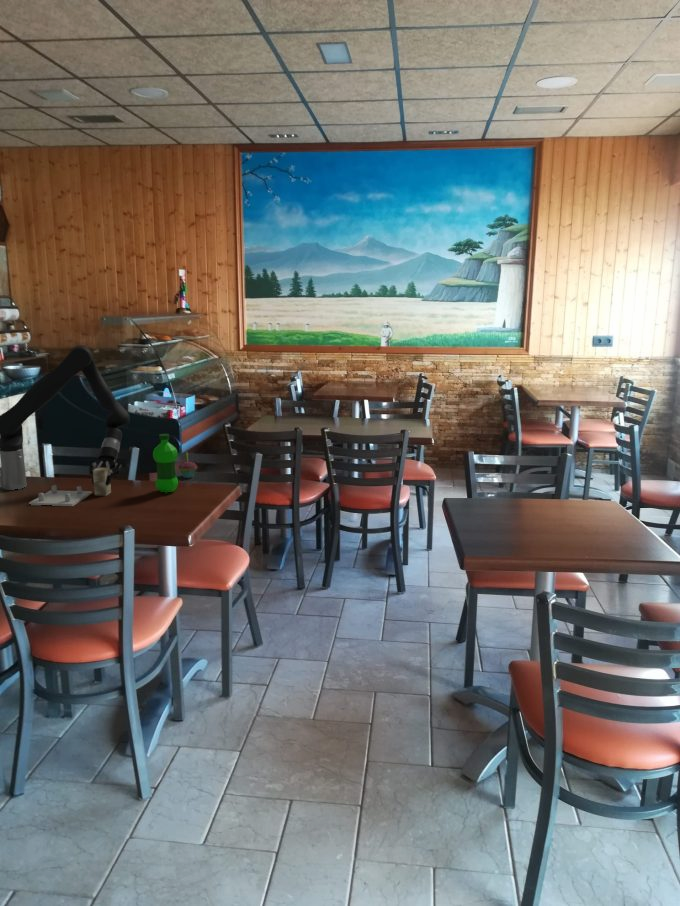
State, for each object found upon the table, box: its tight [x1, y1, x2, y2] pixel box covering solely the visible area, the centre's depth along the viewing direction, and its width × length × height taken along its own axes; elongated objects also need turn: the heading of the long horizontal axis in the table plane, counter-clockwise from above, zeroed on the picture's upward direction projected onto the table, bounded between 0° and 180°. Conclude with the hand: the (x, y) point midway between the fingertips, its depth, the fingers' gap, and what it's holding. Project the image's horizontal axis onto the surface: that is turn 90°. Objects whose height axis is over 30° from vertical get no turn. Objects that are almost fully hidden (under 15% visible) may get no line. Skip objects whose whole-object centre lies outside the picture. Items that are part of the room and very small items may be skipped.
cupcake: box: [178, 452, 198, 479], centre depth 317 cm, size 9×8×12 cm
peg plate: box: [28, 484, 93, 507], centre depth 282 cm, size 18×18×4 cm
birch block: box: [92, 467, 112, 497], centre depth 289 cm, size 5×5×11 cm
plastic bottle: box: [152, 433, 179, 493], centre depth 291 cm, size 10×10×25 cm
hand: (100, 484), depth 287 cm, fingers closed on birch block, 5 cm apart
